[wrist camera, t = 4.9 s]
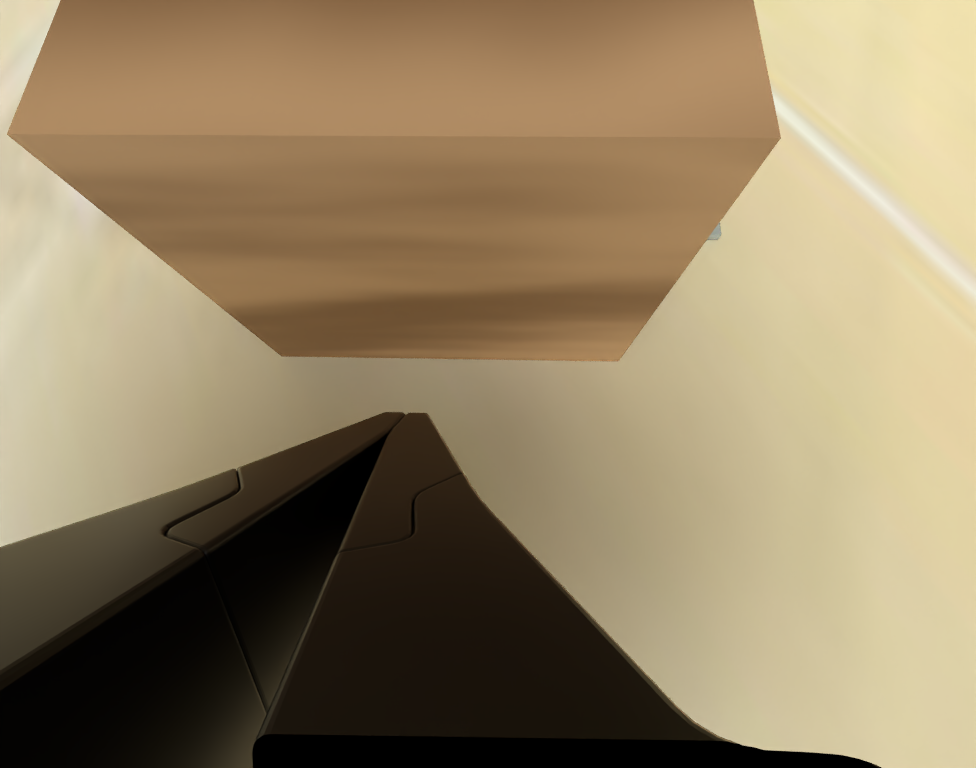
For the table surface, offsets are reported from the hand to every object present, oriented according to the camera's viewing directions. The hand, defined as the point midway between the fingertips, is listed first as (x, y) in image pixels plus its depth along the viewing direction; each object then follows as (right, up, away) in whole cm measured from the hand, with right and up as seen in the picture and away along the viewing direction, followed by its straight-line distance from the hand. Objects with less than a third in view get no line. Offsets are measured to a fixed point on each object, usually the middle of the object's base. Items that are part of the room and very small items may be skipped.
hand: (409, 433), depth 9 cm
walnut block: (0, +4, +8) cm, 9 cm away
